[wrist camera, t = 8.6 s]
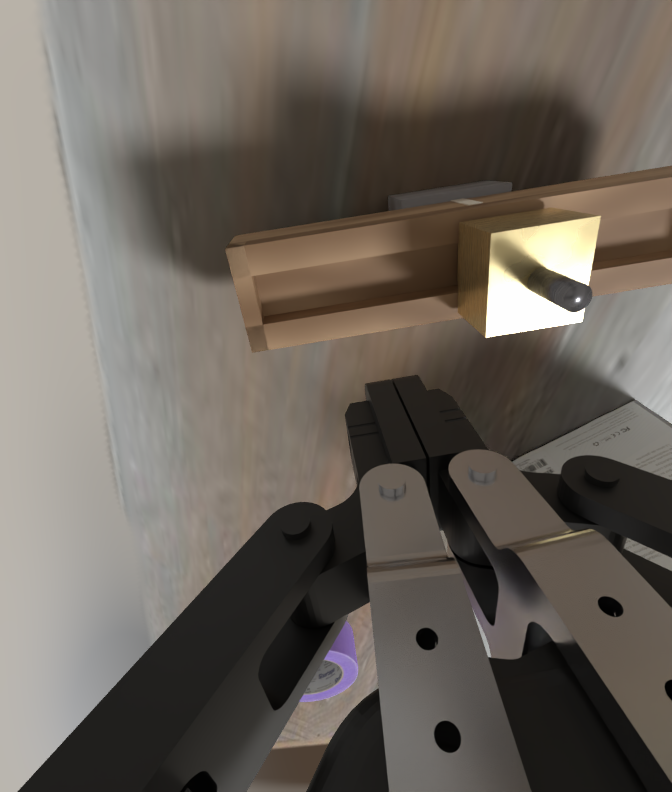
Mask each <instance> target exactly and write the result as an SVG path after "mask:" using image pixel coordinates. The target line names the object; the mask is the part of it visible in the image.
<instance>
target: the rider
mask: <svg viewBox="0 0 672 792" xmlns="http://www.w3.org/2000/svg"><path fill="white" fill-rule="evenodd" d="M600 218H601V216H599V215H593V214H587V213H582V212H576V211H570V210H564V209H558V208H552V207H551V208H545V209H539V210H532V211H526V212H520V213H514V214H508V215H501V216H495V217H489V218H483V219H477V220H470V221H464V222H459V243H458V273H457V282H458V313H459V314H460V315H461V316H462V317H463V318H464V319H465V320H466V321H468V322H469V323H470V324H471V325H472V326H473V327H474V328H475V329H476V330H478V331H479V332H480V333H481V334H482V335H483V336H484V337H485V338H487V337H493V336H499V335H505V334H511V333H517V332H523V331H529V330H535V329H541V328H547V327H553V326H559V325H565V324H571V323H577V322H582V320H583V314H584V309H585V308H586V307H587V306H588V304H589V303H590V301H591V299H592V289H591V288H590V286H589V280H590V275H591V269H592V263H593V258H594V252H595V246H596V241H597V235H598V230H599V224H600Z"/></svg>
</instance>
